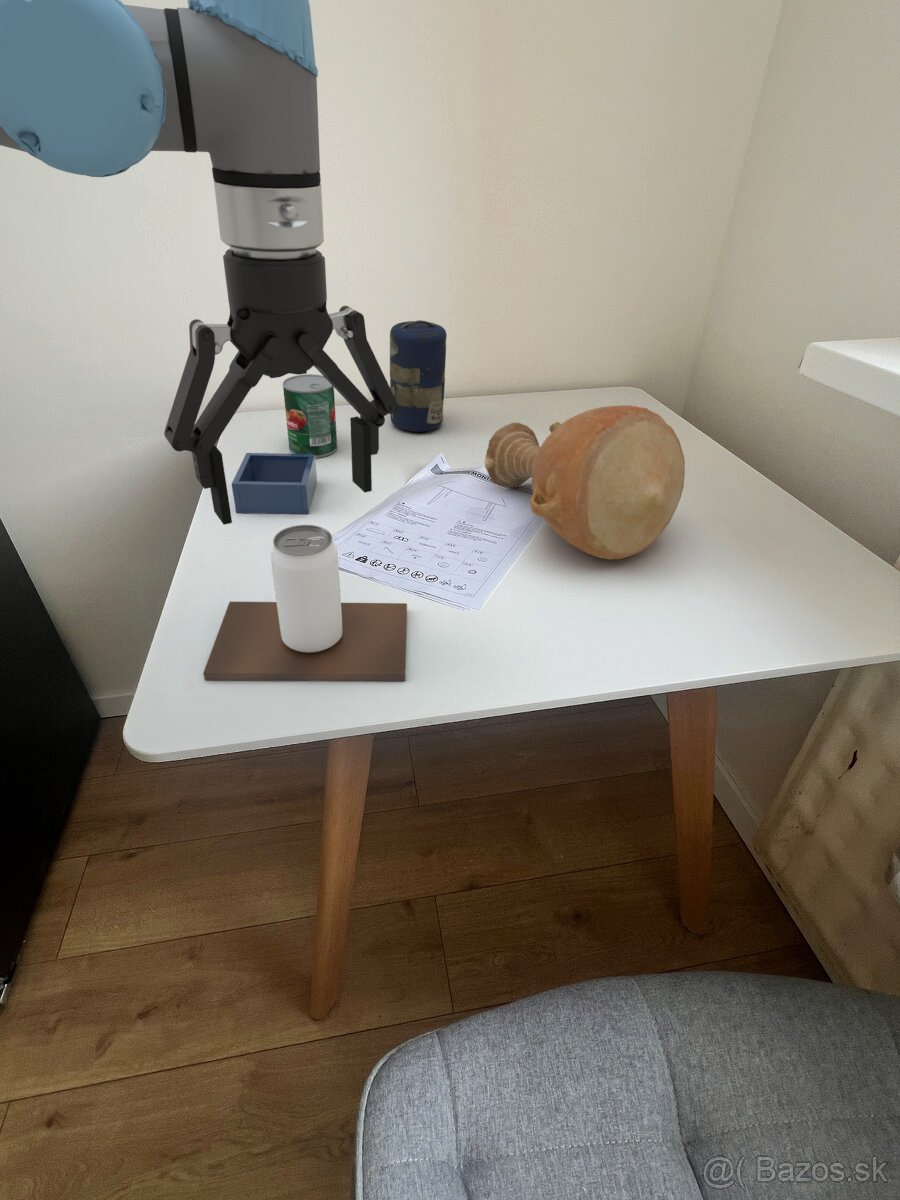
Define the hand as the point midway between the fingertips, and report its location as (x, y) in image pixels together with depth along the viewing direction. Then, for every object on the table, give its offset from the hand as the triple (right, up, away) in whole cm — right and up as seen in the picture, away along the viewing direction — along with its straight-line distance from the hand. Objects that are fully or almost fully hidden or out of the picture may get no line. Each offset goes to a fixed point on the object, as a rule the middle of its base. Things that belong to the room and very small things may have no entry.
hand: (295, 501), depth 65 cm
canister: (+8, +22, +60) cm, 64 cm away
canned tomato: (-8, +16, +50) cm, 53 cm away
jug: (+32, +2, +34) cm, 46 cm away
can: (0, -13, +10) cm, 16 cm away
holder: (-11, +6, +36) cm, 38 cm away
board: (0, -14, +10) cm, 17 cm away
